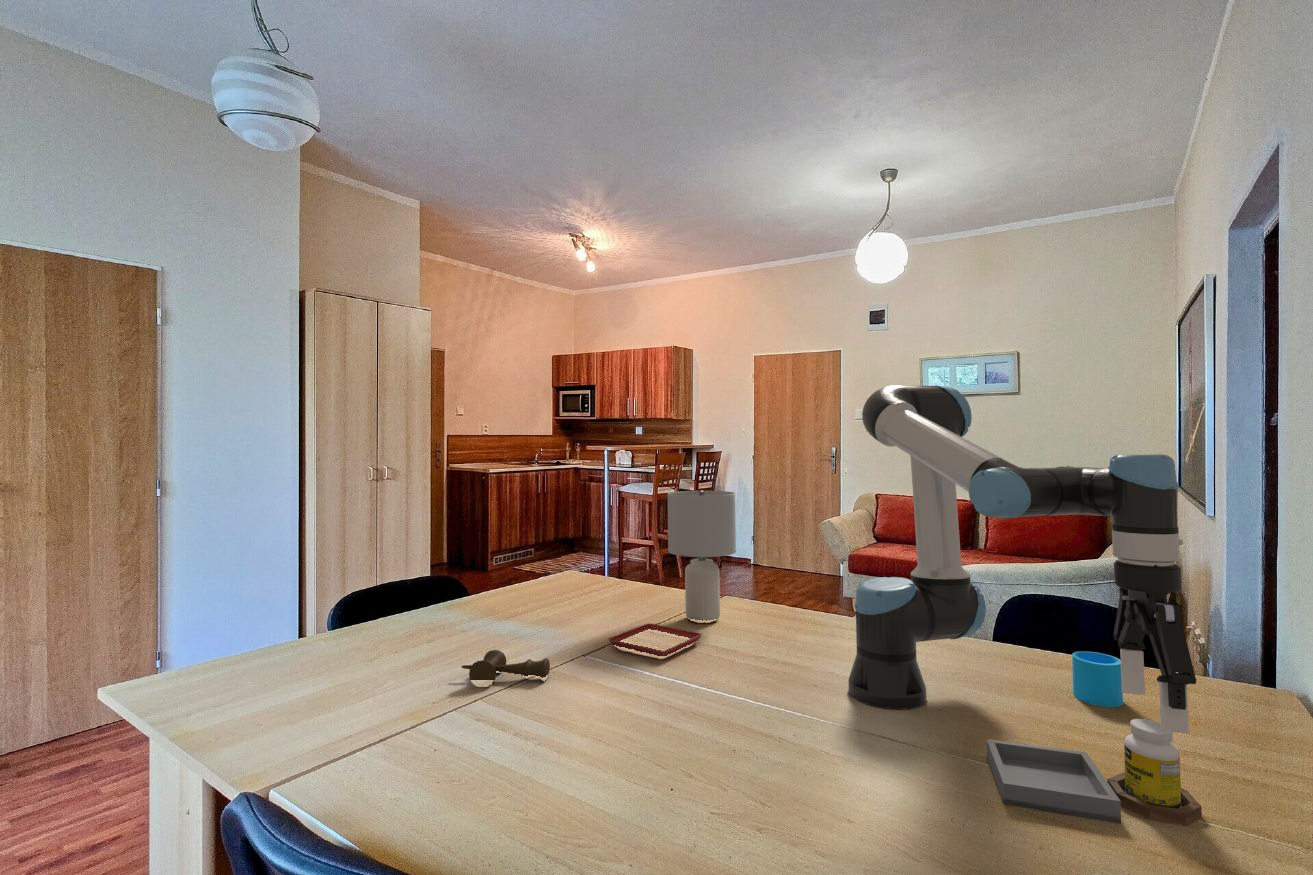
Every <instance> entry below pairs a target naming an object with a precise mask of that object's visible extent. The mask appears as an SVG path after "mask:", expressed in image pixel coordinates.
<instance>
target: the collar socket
mask: <svg viewBox="0 0 1313 875" xmlns="http://www.w3.org/2000/svg"><path fill="white" fill-rule="evenodd" d="M1106 781H1107V782H1108V784H1109V785H1110V787H1111V788H1112V790H1113V791H1114V792H1115V794H1116V795H1117V797H1118V798H1119V800H1120V801H1121V808H1124V809H1126V810H1128V811H1130V812H1132V813H1134V814H1137V815H1139V816H1141V817H1143V818H1144V819H1147V820H1149V821H1154V822H1159V823H1168V824H1174V825H1178V826H1179V825H1180V826H1185V827H1187V826H1189V825H1191V824H1192V823H1194V822H1195V823H1196V821H1198V820H1200V819H1202V818H1203V817H1202V815H1203V814H1202V805H1201V804H1200V803H1199V802H1198V800H1197V799H1195V797H1194V796H1193V795H1192V794H1191V793H1190V792H1189V790H1187V789H1184V788H1182V787H1181V808H1180V809H1176V808H1169V807H1163V806H1156V805H1150V804H1148V803H1146V802H1144V801H1141V800H1139V799H1137V798H1135V797H1132V796H1130V795H1128V794H1126V792H1125V791H1124V790H1125V772H1120V773H1118V774H1116V775H1113V776H1112V777H1111V776H1110V777H1109V778H1107V779H1106Z"/></svg>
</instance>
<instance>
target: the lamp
mask: <svg viewBox="0 0 1313 875" xmlns="http://www.w3.org/2000/svg"><path fill="white" fill-rule="evenodd" d="M736 529H737V528H736V493H735V492H734V491H728V490H726V491H725V490H703V489H702V490H685V491H684V490H682V491H681V490H680V491H672V492H668V493H667V546H668V548H667V550H668V551H667V552H668V554H671V555H675V556H679V557H690V558H692V559H691V560H690V563H689V564H687V565H686V566H685V568H684V571H685V572H684V582H685V583H684V588H685V589H684V594H685V596H684V598H685V604H684V605H685V617H686V618H687V617H688V618H690V619H695V620H702V621H703V620H706V621H707V620H714V619H718V620H719V618H720V616H721V592H720V591H721V588H720V587H721V584H720V582H721V581H720V579H721V577H720V576H721V574H720V568H719V566H718V565H717V564H716V563H714V559H712V558H713V557H714V558H715V557H716V558H717V557H724V556H730V555H733V554H735V553H736V552H737V542H736V538H737V536H736V535H737V534H736V533H737V532H736Z"/></svg>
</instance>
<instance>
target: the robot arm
mask: <svg viewBox="0 0 1313 875" xmlns="http://www.w3.org/2000/svg"><path fill="white" fill-rule="evenodd" d="M861 418H862V423H863V426H864V428H865V430H866V432H867V433H868V435H870V436H871V437H872V439H874V440H876V441H878V442H879V443H880V444H882V445H884V446H887V447H896V448H898V449H900V450H902V452H905V453H906V454H907V455H909V456H910V468H911V470H910V471H911V482H912V486H911V487H912V499H913V500H912V501H913V512H914V513H913V515H914V528H915V546H916V559H917V560H916V561H917V565H916V567H915V568H914V569H913V570H912V571H911V572H910V579H909V578H906V577H899V576H890V577H887V576H883V577H875V578H870V579H867V580H865V581H863V582H861V583H859V585H858V586H857V587H856V593H855V603H854V609H855V635H856V636H855V637H856V655H855V657H854V661H853V664H852V667H851V671H850V672H849V677H848V693H849V694H850V695H851V696H852V697H853V698H854V699H856V700H857V701H859V702H862V703H864V704H867V705H870V706H874V707H877V708H883V709H891V710H908V709H909V710H911V709H915V708H919V707H921V706H923V705H924V704H926V703H927V698H928V697H927V687H926V684H925V681H924V678H923V675H922V672H921V669H920V666H919V663H918V661H917V660H918V659H917V643H919V642H930V641H938V640H948V639H949V640H957V639H961V638H965V637H970V636H973V635H974V634H976V633H977V631H979V630H980V629H981V628H982V626H983V624H984V621H985V618H986V612H987V609H986V606H987V605H986V600H985V596H984V594H982V593H981V589H980V588H979V586H978V585H976V584H975V583H974V582H972V581H971V574H970V573H969V572H968V571H967V570H965V569H964V567H963V566H962V557H961V556H962V555H961V543H960V542H961V541H960V529H959V528H960V527H959V526H960V525H959V512H958V499H957V498H958V497H957V486H959V487H960V488H961V489H962V490H965V491H966V492H968V497H969V501H970V503H971V504H972V505H973V506H974V510H975V511H977V512H978V513H979V514H980V515H982V516H985V517H988V518H1000V519H1014V518H1023V517H1028V518H1029V517H1043V516H1044V517H1045V516H1046V517H1048V516H1068V515H1069V516H1070V515H1073V516H1074V515H1083V516H1084V515H1087V516H1100V517H1101V516H1102V517H1109V518H1110V517H1111V524H1112V529H1111V536H1112V537H1111V540H1112V541H1111V542H1112V555H1113V556H1114V557H1115V558H1117V560H1115V561H1114V562H1113V574H1114V575H1113V576H1114V584H1115V585H1116V586H1117V587H1119V600H1118V607H1117V611H1116V618H1115V624H1114V625H1115V626H1114V631H1113V638H1114V640H1115V641H1117V645H1118V646H1119V650H1120V651H1119V652H1120V653H1119V654H1120V660H1121V681H1122V692H1123V694H1129V695H1130V694H1132V695H1141V696H1145V695H1146V682H1145V663H1144V662H1145V661H1144V651H1143V650H1146V646H1145V643H1144V638H1145V635H1147V636H1149V641H1150V642H1151V646H1152V649H1153V652H1154V656H1155V658H1156V662H1157V665H1158V668H1159V671H1160V674H1158V676H1157V678H1156V681H1157V682H1158V684H1159V687H1158V689H1159V710H1160V712H1159V713H1160V723H1161V729H1162V730H1163V731H1169V732H1172V733H1176V734H1177V733H1178V734H1179V733H1181V734H1188V735H1189V734H1190V730H1189V729H1190V728H1189V726H1190V724H1189V706H1188V704H1189V703H1188V685H1197V678H1196V674H1195V669H1194V666H1193V662H1192V657H1191V654H1190V650H1189V646H1188V642H1187V638H1186V634H1185V629H1184V626H1183V618H1182V617H1183V616H1182V609H1181V607H1180V605H1178V604H1175V605H1174V604H1169V601H1168V597H1167V596H1168V595H1169V594H1176V593H1179V592H1181V590H1182V585H1183V584H1182V568H1181V567H1180V566H1179V565H1178V564H1177V563H1178V562H1179V561H1180V560H1181V557H1180V556H1181V554H1180V546H1183V544H1184V540H1183V539H1181V538H1180V536H1179V534H1180V533H1179V532H1180V531H1179V524H1178V520H1179V519H1178V498H1179V497H1178V495H1179V494H1178V489H1179V482H1178V481H1177V473H1176V472H1177V471H1176V464H1175V460H1174V459H1173V457H1171V456H1170V455H1168V454H1162V453H1160V454H1159V453H1157V454H1155V453H1153V454H1152V453H1151V454H1114V455H1112V456H1111V457H1110V459H1109V465H1108V466H1107V467H1091V466H1090V467H1088V466H1086V467H1085V466H1081V467H1080V466H1072V465H1071V466H1069V465H1067V466H1056V467H1031V468H1030V467H1028V468H1027V467H1026V468H1025V467H1019V466H1017V465H1015V464H1013V463H1011V462H1010V461H1007V460H1005V459H1004V458H1002V457H1000V456H998V455H996V454H995V453H993V452H990V451H989V450H987V449H985V448H983V447H981V446H979V445H977V444H975V443H974V442H971V441H970V440H968V439H967V438H964V436H965V435H966V434H967V433H968V432H969V428H970V427H971V425H972V421H973V420H972V419H973V418H972V409H971V406H970V404H969V401H968V400H967V398H966V397H965V395H964V394H963V393H961V392H960V391H959V390H957V389H955V388H953V387H950V386H941V385H937V384H936V385H898V384H897V385H896V384H894V385H888V386H883V387H882V388H879V389H878V390H875V391H874V392H872V393H871V395H870V396H869V397H868V398H867V399H866V400H865V403H864V405H863V408H862V412H861ZM956 485H957V486H956ZM1176 562H1177V563H1176Z"/></svg>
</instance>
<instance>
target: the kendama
mask: <svg viewBox="0 0 1313 875" xmlns="http://www.w3.org/2000/svg"><path fill="white" fill-rule="evenodd" d="M461 669H465V670H469V673H468V675H469V676H468V677H469V681H470V680H495V681H496V676H497V674H496V671H499V672H501V673H506V674H507V673H508V674H511V673H514V674H513V675H516V674H521V675H524V676H528V675H536V676H540V677H542V678H543V677H546V675H548V673H549V674H550V672H549V671H550V670H551V663H550V659H549V658H547V657H545V658H544V659H542V660H539V661H537V660H536V661H533V660H532V659H531V658H528V659H527V660H526V661H524V662H518V663H509V664H507V657H506V655H505V653H504V652H502V651H501V650H499V649H493V650H489V651H488V652H486V653H485V655H484V656H483V659H481V660H477V661H475V662H474V663H472V664H466V665H461Z"/></svg>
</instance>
